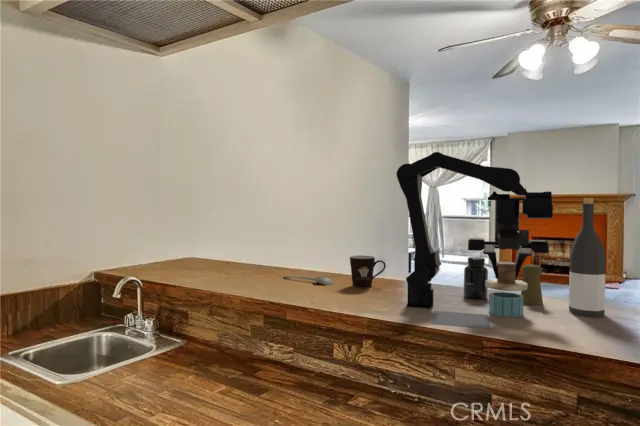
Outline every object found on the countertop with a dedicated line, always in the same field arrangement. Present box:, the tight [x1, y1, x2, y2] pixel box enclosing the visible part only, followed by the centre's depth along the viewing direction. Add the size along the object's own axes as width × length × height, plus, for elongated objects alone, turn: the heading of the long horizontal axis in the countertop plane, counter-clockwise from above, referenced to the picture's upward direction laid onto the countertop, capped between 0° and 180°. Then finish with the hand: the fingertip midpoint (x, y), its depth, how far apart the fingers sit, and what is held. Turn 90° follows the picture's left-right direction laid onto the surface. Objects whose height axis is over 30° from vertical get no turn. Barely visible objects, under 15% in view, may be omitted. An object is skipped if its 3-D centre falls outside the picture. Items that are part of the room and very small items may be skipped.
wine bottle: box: [568, 197, 607, 318], centre depth 115 cm, size 8×8×30 cm
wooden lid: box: [485, 261, 528, 292], centre depth 113 cm, size 10×10×6 cm
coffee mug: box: [349, 254, 386, 288], centre depth 150 cm, size 12×9×10 cm
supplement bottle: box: [463, 256, 489, 300], centre depth 134 cm, size 7×7×12 cm
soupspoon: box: [282, 274, 335, 286], centre depth 160 cm, size 22×3×7 cm
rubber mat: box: [430, 310, 491, 330], centre depth 108 cm, size 13×13×1 cm
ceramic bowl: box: [488, 291, 525, 318], centre depth 114 cm, size 8×8×5 cm
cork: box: [520, 263, 544, 306], centre depth 126 cm, size 6×6×11 cm
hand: (506, 278), depth 113 cm, fingers closed on wooden lid, 4 cm apart
